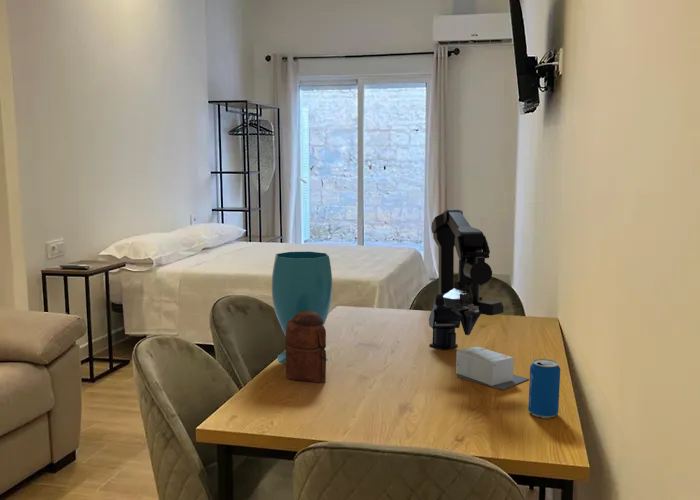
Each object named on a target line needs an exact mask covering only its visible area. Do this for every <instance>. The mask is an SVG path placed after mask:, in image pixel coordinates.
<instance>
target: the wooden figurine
mask: <svg viewBox="0 0 700 500" xmlns="http://www.w3.org/2000/svg"><path fill="white" fill-rule="evenodd" d="M322 324H323V319H322V317H321V316H320V315H319V314H317V313H316V312H314V311H301V312H299V313H297V314H296V315H295V316H294V317H293V318H292V320H290V321H288V323H287V326H286V336H285V350H286V364H285V377H286V378H287V379H290V380H293V381H299V382H300V381H301V382H302V381H303V382H310V383H311V382H312V383H319V384H320V383H321V384H322V383H326V379H327V376H326V375H327V360H326V358H327V350H326V347H327V331H326V328H325V325H324V326H323V325H322Z"/></svg>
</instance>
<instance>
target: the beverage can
mask: <svg viewBox="0 0 700 500" xmlns="http://www.w3.org/2000/svg"><path fill="white" fill-rule="evenodd" d="M529 367H530V368H529V384H528V386H529V387H528V406H527V407H528V411H529V412H530V413H531V415H532V416H534V417H536V418H539V417H541V418H540V419H551V418H550V417H553V418H554V417H555V416H557V415H558V414H559V408H560V407H559V404H560V384H561V367H560V366H559V362H558V361H556V360H554V359H549V358H536V359H533V360H532V362H531V364H530V366H529Z"/></svg>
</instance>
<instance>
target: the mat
mask: <svg viewBox="0 0 700 500" xmlns="http://www.w3.org/2000/svg"><path fill="white" fill-rule="evenodd" d="M457 378H459V379H462V380H467V381H470V382H473V383H475V384H476V383H477V384H480V385H483V386H487V387H490V388H494V389H498V390H501V391H505V390H507V389H510V388H512V387H515V386H516V385H519V384H522V383H524V382H526V381H530V378H529V377H524V376H521V375H516V374H513V381H509V382H505V383H501V384H498V385H494V386H491V385H488V384H485V383H482V382H480V381H477V380H474V379H471V378H468V377H465V376H463V375H460V374H458V375H457Z"/></svg>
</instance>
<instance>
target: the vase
mask: <svg viewBox="0 0 700 500" xmlns="http://www.w3.org/2000/svg"><path fill="white" fill-rule="evenodd" d="M271 275H272V276H271V298H272V305H273V309H274V312H275V315H276V318H277V320H278V322H279V325H280V327H281V329H282V332H283V334H284V336H285V337H286V326H287V323H288V321H290V320H292V318H293V317H294V316H295V315H296V314H297V313H299V312H301V311H314V312H316V313H317V314H319V315H320V316H321V317H322V319H323V324H322V325H323V326H324V327H325V324H326V321H327V318H328V316H329V313H330V309H331V304H332V300H333V299H332V298H333V275H332V266H331V260H330V255H328V253H327V252H318V251H317V252H316V251H286V252H281V253H280V252H279V253H275V257H274V263H273V267H272V274H271ZM277 360H278V363H282V364H285V365H286V349H285V350H283V352H282V353H280V354H278V355H277ZM326 361H328V358H327V357H326Z"/></svg>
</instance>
